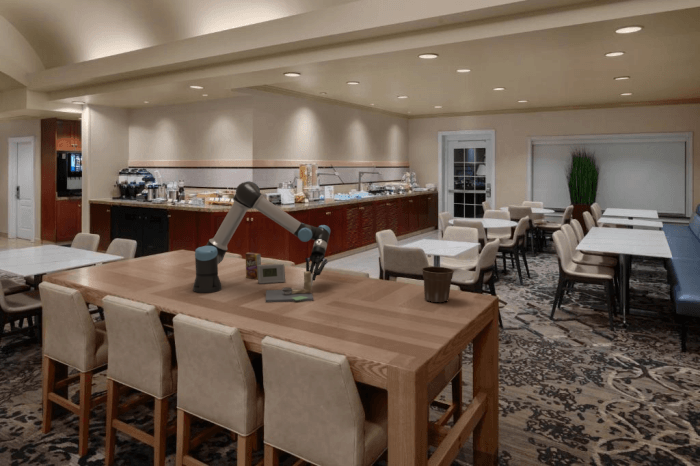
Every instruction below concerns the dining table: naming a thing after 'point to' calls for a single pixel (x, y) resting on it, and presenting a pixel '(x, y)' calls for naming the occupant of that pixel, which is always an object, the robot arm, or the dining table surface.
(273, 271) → the digital clock
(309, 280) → the lever
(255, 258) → the candy box
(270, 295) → the dial board
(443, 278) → the plant pot
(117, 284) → the dining table surface
